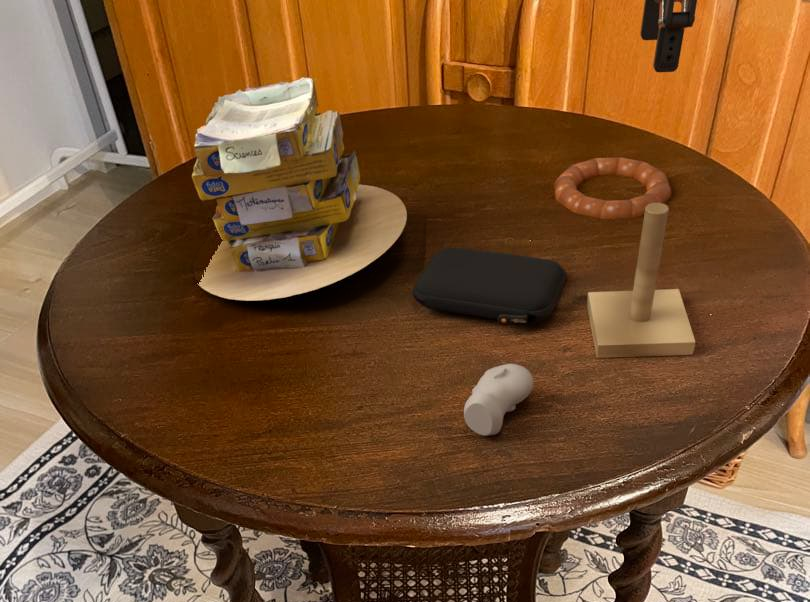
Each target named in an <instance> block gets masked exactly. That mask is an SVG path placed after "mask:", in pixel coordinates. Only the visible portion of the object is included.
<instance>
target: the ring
mask: <svg viewBox="0 0 810 602" xmlns="http://www.w3.org/2000/svg"><path fill="white" fill-rule="evenodd" d="M611 175H612V176H615V175H618V176H623V177H626V178H627V177H628V178H633V179H635V180H636V181H638V182H640V183H641V184H643V185H645V190H646V192H645V193H644V194H641V195H639V196H636V197H632V198H630V199H617V200H616V199H613V200H607V199H606V200H605V199H601V198H596V197H591V196H588V195H585V194H584V193H582V192H581V191H579V190H578V187H579V186H580V185H581V184H582V183H583V181H586V180H589V179H591V178H594V177H598V176H611ZM553 190H554V196H555V201H556V202H557V203H559V204H560V205H562V206H563V207H565V208H566V209H567V210H569V211H570V212H572V213H574V214H578V215H582V216H587V217H591V218H594V219H599V220H621V219H636V218H639V217H642V216H644V214H645V208H646V206H647V205H648V204H651V203H662V204H665V205H666V203H667V201H669V199H671V197H672V193H673V192H672V188H671V184H670V182H669V179H668V177H667V175H666V173H664V172H663V171H662V170H660V169H658V168H656V167H655V166H653V165H652V164H650V163H648V162H646V161H641V160H636V159H631V158H628V157H627V158H626V157H623V156H616V157H595V158H594V157H593V158H591V159H588V160H584V161H581V162H578V163H575V164H572V165H570V166H569V167H567V168H566V169H565V170H564V171H563V172H562V173H561V174H560V175H559V176H558V177H557V178H556V179H555V181H554V184H553Z"/></svg>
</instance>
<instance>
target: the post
mask: <svg viewBox="0 0 810 602" xmlns="http://www.w3.org/2000/svg"><path fill="white" fill-rule="evenodd" d="M669 210H670V207H669V206H668V205H667V204H666V203H665V204H662V203H651V204H648V205H647V206H646V208H645V214H644V215H643V221H642V227H641V234H640V242H639V247H638V255H637V261H636V262H637V263H636V267H635V274H634V281H633V288H632V290H618V291H617V290H616V291H615V290H614V291H611V290H610V291H589V292H587V299H586V307H587V315H588V320H589V324H590V330H591V336H592V341H593V346H594V351H595V356H596V358H597V359H605V358H606V359H608V358H639V357H641V358H642V357H667V356H668V357H669V356H670V357H672V356H693V355H694V351H695V347H696V339H695V336H694V335H695V334H694V332H693V329H692V326H691V323H690V319H689V317H688V313H687V311H686V308H685V304H684V301H683V297H682V295H681V291H680V289H679V288H675V289H674V288H671V289H670V288H669V289H668V288H666V289H656V287H657V280H658V275H659V269H660V264H661V257H662V252H663V245H664V240H665V233H666V228H667V222H668V218H669V212H670V211H669Z"/></svg>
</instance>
